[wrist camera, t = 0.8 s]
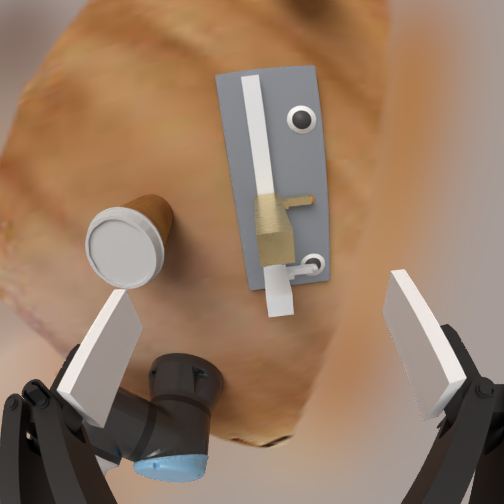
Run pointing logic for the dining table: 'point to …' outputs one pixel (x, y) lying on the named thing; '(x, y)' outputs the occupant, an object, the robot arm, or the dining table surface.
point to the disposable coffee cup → (130, 241)
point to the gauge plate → (278, 170)
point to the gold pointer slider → (276, 227)
